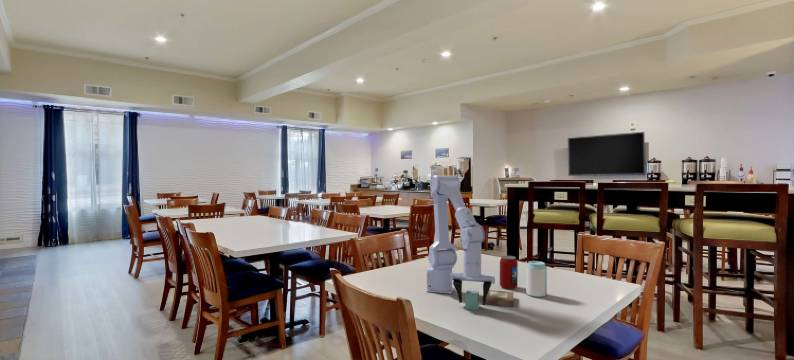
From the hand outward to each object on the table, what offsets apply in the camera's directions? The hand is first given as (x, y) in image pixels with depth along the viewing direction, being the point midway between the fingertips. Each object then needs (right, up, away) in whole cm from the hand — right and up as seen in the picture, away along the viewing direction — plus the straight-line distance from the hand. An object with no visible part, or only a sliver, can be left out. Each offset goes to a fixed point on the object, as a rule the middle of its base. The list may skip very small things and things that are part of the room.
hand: (472, 303), depth 128 cm
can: (+26, -2, +14) cm, 30 cm away
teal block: (0, -2, 0) cm, 2 cm away
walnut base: (+11, -1, +7) cm, 13 cm away
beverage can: (+19, -2, +23) cm, 30 cm away
